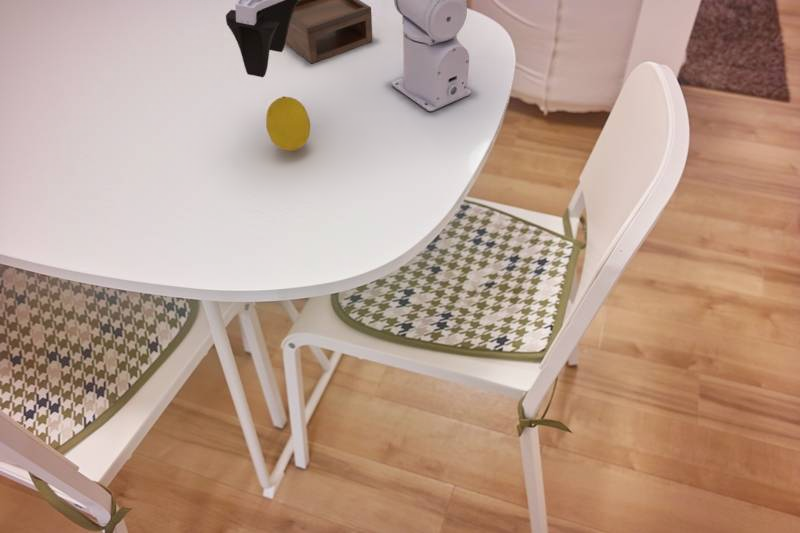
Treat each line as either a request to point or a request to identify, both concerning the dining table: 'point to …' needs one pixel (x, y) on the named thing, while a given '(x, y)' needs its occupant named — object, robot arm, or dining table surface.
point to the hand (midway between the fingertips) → (265, 61)
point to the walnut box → (328, 27)
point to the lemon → (288, 123)
